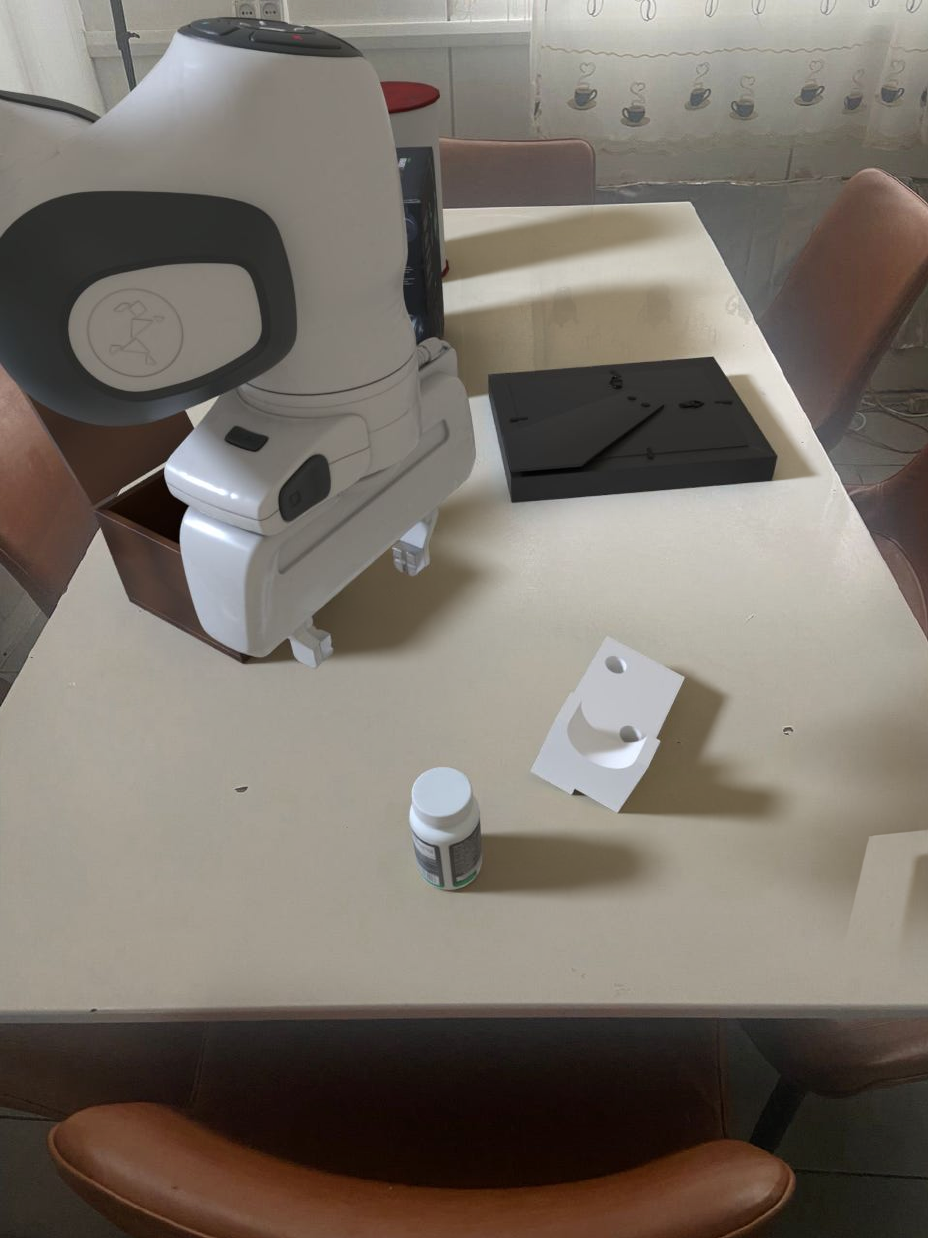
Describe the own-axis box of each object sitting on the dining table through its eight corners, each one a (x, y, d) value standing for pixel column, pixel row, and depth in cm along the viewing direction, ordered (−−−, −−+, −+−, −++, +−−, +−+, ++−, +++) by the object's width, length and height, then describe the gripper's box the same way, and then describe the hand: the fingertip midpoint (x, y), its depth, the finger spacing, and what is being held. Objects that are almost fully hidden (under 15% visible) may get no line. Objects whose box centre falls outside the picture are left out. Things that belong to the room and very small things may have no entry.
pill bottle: (485, 835, 65) (482, 763, 59) (479, 894, 61) (475, 824, 56) (421, 832, 65) (411, 759, 60) (411, 890, 62) (401, 819, 56)
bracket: (613, 818, 66) (648, 767, 61) (530, 771, 68) (556, 716, 62) (669, 702, 75) (704, 647, 69) (594, 661, 76) (622, 604, 70)
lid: (113, 268, 77) (109, 270, 78) (-15, 323, 70) (-20, 324, 71) (201, 440, 85) (196, 441, 86) (93, 505, 78) (89, 505, 78)
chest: (336, 586, 86) (320, 494, 79) (243, 664, 79) (214, 570, 72) (225, 534, 93) (200, 445, 86) (129, 601, 86) (93, 510, 78)
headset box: (363, 327, 129) (339, 129, 111) (446, 325, 128) (434, 125, 111) (342, 404, 112) (310, 186, 95) (437, 403, 112) (422, 183, 94)
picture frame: (511, 502, 95) (772, 480, 96) (511, 469, 92) (780, 447, 93) (488, 396, 112) (710, 378, 113) (487, 365, 109) (715, 347, 110)
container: (373, 245, 152) (355, 78, 136) (466, 256, 147) (459, 83, 130) (323, 283, 141) (296, 106, 124) (421, 297, 135) (407, 113, 119)
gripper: (406, 313, 52) (424, 507, 61) (133, 486, 40) (208, 695, 49) (498, 336, 49) (502, 536, 58) (234, 529, 37) (293, 742, 46)
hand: (366, 610), depth 54 cm, fingers open, 8 cm apart
